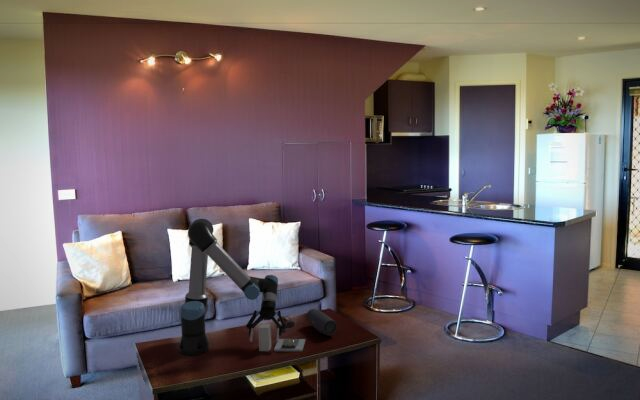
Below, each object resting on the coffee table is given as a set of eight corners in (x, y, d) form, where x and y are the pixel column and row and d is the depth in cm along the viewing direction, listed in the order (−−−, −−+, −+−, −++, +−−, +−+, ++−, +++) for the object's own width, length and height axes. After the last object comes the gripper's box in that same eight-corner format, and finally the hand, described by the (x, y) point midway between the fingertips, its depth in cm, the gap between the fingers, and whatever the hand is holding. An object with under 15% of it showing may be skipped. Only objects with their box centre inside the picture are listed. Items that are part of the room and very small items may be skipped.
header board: (274, 351, 261) (274, 349, 261) (278, 340, 275) (278, 338, 275) (302, 351, 260) (302, 349, 260) (305, 341, 274) (305, 338, 273)
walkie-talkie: (273, 322, 306) (283, 333, 287) (273, 314, 305) (283, 325, 286) (288, 320, 309) (299, 330, 290) (288, 312, 308) (298, 323, 290)
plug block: (259, 351, 262) (258, 327, 260) (261, 346, 268) (260, 323, 266) (269, 351, 261) (268, 327, 260) (271, 346, 267) (270, 323, 266)
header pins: (281, 348, 262) (281, 340, 261) (282, 346, 263) (281, 339, 263) (295, 348, 261) (295, 340, 261) (295, 347, 263) (295, 339, 262)
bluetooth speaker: (305, 326, 296) (304, 309, 295) (320, 323, 300) (319, 306, 299) (322, 339, 276) (321, 320, 275) (338, 336, 279) (337, 318, 278)
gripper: (293, 306, 277) (289, 344, 263) (246, 306, 279) (241, 344, 266) (291, 299, 271) (287, 338, 258) (244, 299, 273) (238, 338, 260)
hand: (264, 341), depth 262 cm, fingers open, 13 cm apart
